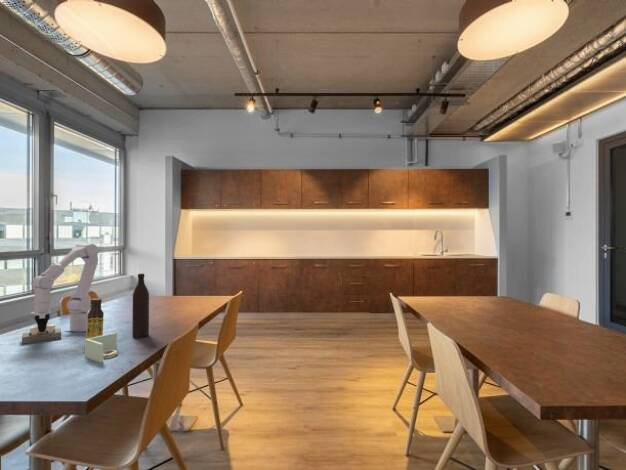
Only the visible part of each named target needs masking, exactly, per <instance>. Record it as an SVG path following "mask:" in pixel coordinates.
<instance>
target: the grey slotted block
mask: <svg viewBox="0 0 626 470" xmlns="http://www.w3.org/2000/svg"><path fill="white" fill-rule="evenodd" d="M59 339H60V340H61V339H62V329H61V327H60V328H55V330H54V332H52V333H48V331H45V332H37V335H31V333H30V331H29V332H23V333H22V335H21V344H22V345H26V344H32V343H40V342H46V341H52V340H59Z"/></svg>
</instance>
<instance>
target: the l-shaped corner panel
mask: <svg viewBox="0 0 626 470" xmlns="http://www.w3.org/2000/svg"><path fill="white" fill-rule="evenodd" d="M118 353H119V352H118V332H111V333H107V334H103V335H102V336H97V337H93V338H89V339H86V338H85V339H84V358H87V359H89V358H90V360H93V361H94V360H95V362H98V363H100V364H102V363H104V360H105V359H112V358H115V357H116V356H117V355H118Z"/></svg>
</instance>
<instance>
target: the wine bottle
mask: <svg viewBox="0 0 626 470" xmlns="http://www.w3.org/2000/svg"><path fill="white" fill-rule="evenodd" d="M137 280H138V281H137V285H136V287H135V288H134V291H133V294H132V329H131V331H132V332H131V333H132V338H134V339H142V338H146V337H148V336H149V335H150V293H149V290H148V288H147V286H146V283H145V273H138V274H137Z"/></svg>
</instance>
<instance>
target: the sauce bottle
mask: <svg viewBox="0 0 626 470" xmlns="http://www.w3.org/2000/svg"><path fill="white" fill-rule="evenodd" d="M102 301H103V300H102V298H101V297H100V298H91V300H90V304H91V306H90V309H89V310H88V312H89V313H88V319H87V331H85V332H86V335H85V337H86V338H85V339H89V338H93V337H97V336H102V335H104V315H105V314H104V312H103V310H102Z"/></svg>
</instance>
